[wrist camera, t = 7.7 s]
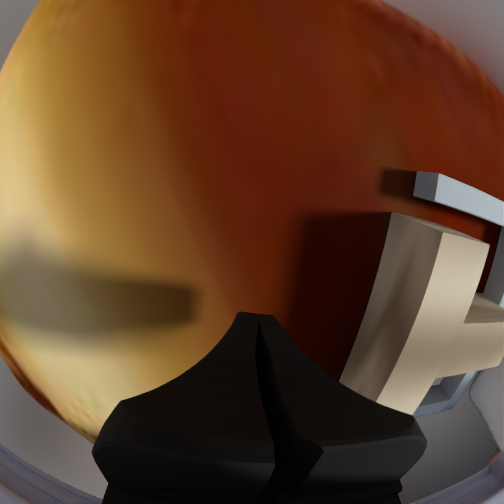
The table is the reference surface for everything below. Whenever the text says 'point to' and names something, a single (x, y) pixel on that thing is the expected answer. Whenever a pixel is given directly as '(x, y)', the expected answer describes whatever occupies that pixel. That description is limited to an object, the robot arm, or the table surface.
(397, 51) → the table surface
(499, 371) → the drinking glass
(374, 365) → the t block
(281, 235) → the table surface
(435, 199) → the bracket
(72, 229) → the table surface
